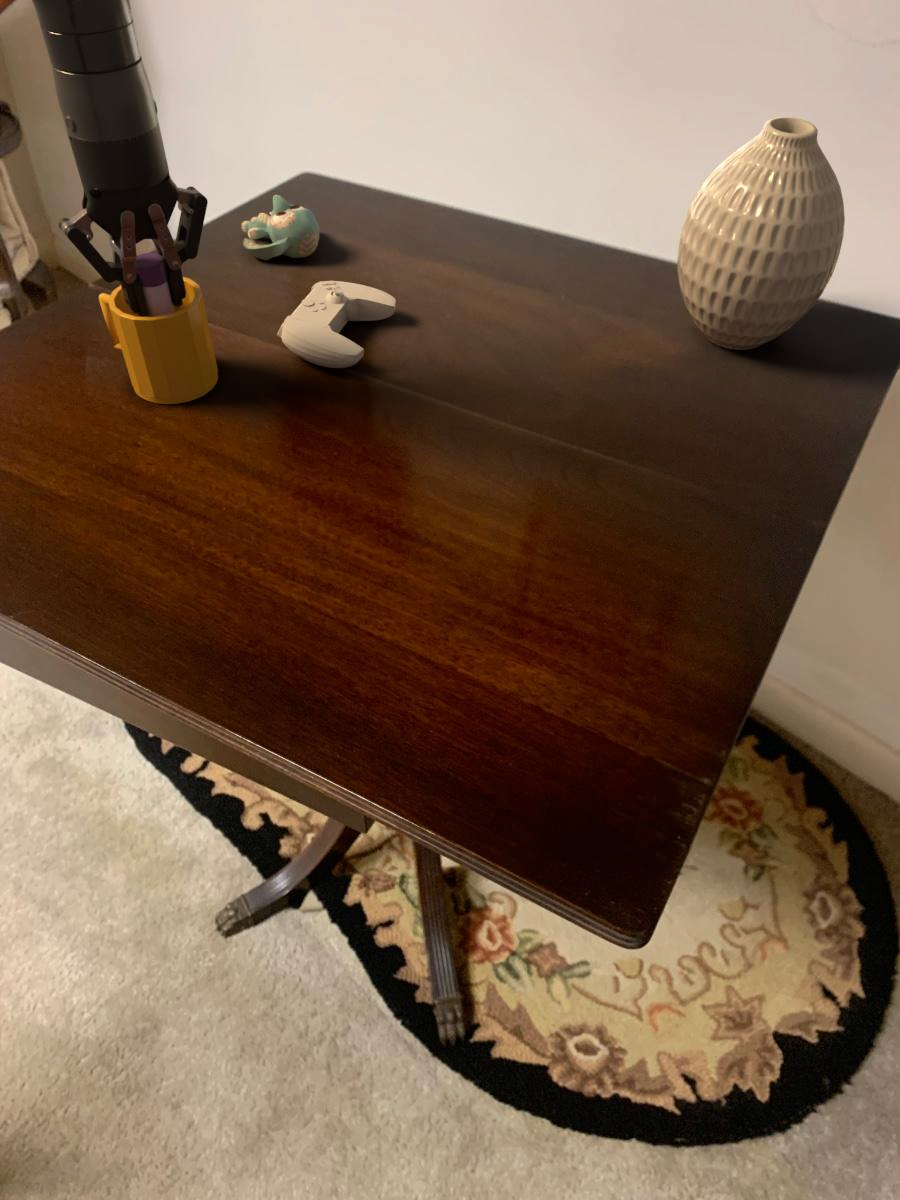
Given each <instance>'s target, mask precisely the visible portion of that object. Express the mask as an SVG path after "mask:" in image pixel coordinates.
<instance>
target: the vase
mask: <svg viewBox="0 0 900 1200" xmlns="http://www.w3.org/2000/svg"><path fill="white" fill-rule="evenodd" d="M818 133H819V131H818V128H817V127H816V125H814V123H812V122H810V121H809V120H808V121H807V120H805V119H801V118H797V117H787V116H781V117H774V118H772V119H769V120H767V121H766V122H765V123H764V125H763V127H762V129H761V131H760V132H759V134H758V135H756V136H755V137H754V138H752V139H750V141H748V142H747V143H745V144H744V145H743V146H741V147H740V148H738V149H737V150H736V151H734V152H733V153H732V154H730V155H729V156H728V157H726V158H725V159H724V160H723V161H722V162H721V163H720V164H719V165H717V167H716V168H715V169H714V170H713V171H712V172H711V173H710V175H709V176H708V177H707V178H706V179H705V181H704V182H703V184H702V185H701V187H700V188H699V190H698V192H696V195H695V196H694V198H693V201H692V202H691V204H690V206H689V209H688V210H687V213H686V216H685V219H684V222H683V225H682V229H681V233H680V237H679V244H678V248H677V262H676V263H677V265H676V269H677V277H678V285H679V291H680V294H681V296H682V300H683V302H684V305H685V307H686V309H687V311H688V313H689V315H690V317H691V320H692V322H693V323H694V324H695V325H696V327H697V328H698V330H699V331H700V332H701V333H702V334H703V336H704V337H705V338H706V339H707V340H708V341H709V342H710V343H712V344H714V345H716V346H718V347H721V348H724V349H728V350H734V351H748V350H753V349H757V348H759V347H761V346H762V345H765V344H767V343H769V342H771V341H773V340H775V339H776V338H778V337H780V336H781V335H783V334H784V333H786V332H787V331H788V330H790V329H791V328H792V327H794V325H796V323H798V322H799V321H801V319H802V318H803V317H804V316H806V315H807V314H808V313H809V311H810V310H811V309H812V308H813V306H814V305H815V304H816V303H817V301H819V299H820V298H821V296H822V295H823V293H824V292H825V289H826V288H827V286H828V284H829V282H830V280H831V278H832V276H833V274H834V271H835V268H836V265H837V263H838V260H839V256H840V254H841V249H842V245H843V240H844V236H845V224H846V223H845V220H846V217H845V203H844V198H843V193H842V188H841V184H840V182H839V180H838V177H837V175H836V173H835V171H834V169H833V168H832V166H831V164H830V162H829V160H828V158H827V156H826V155H825V153H824V152H823V150H822V149H821V146H820V144H819V142H818Z"/></svg>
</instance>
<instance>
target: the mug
mask: <svg viewBox="0 0 900 1200" xmlns="http://www.w3.org/2000/svg"><path fill="white" fill-rule="evenodd" d="M183 280H184V285H185V289H186V297H185V298H184V299H182V302H183V305H181V306H178V307H175V306H174V305H173V306H174V310H175V312H174V313H171V314H169V315H163V316H156V317H146V316H145V317H140V316H139V315H138V313H134V312H133V311H132V310H131V309H130V308H129V306H128V305H127V304H126V301H125V297H124V294H123V291H122V287H121V284H120V285H119V286H118V287H116V288H115V289H113V290H112V292H111V294H108V293H106V292H102V293H100V294H99V295H98V302H99V305H100V307H101V311H102V315H103V318H104V321H105V324H106V328H107V332H108V334H109V339H110V342H111V344H112V347H113V348H114V349H116V350H119V351H121V352H122V355H123V358H124V362H125V366H126V369H127V373H128V375H129V380H130V383H131V386H132V388H133V391H134V392H135V394H136V395H137V396H138V397H140V398H141V399H143V400H145V401H147V402H150V403H154V404H160V405H177V404H184V403H187V402H191V401H194V400H196V399H199V398H202V397H204V396H205V395H207V394H208V393H209V392H211V391H212V390H213V389H214V388H215V386H216V385H217V383H218V380H219V368H218V364H217V359H216V355H215V349H214V344H213V340H212V333H211V329H210V324H209V320H208V315H207V310H206V306H205V301H204V295H203V292H202V289H201V286H200V284H198V283H197V282H196V281H194V280H193V279H191V278H190V277H185V276H183Z"/></svg>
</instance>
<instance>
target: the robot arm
mask: <svg viewBox="0 0 900 1200" xmlns="http://www.w3.org/2000/svg"><path fill="white" fill-rule="evenodd" d="M31 2H32V4H33V6H34V10H35V13H36V16H37V19H38V23H39V27H40V30H41V34H42V37H43V41H44V44H45V48H46V51H47V52H46V53H47V54H48V55H47V56H48V59H49V62H50V66H51V70H52V75H53V80H54V87H55V93H56V97H57V101H58V105H59V109H60V112H61V116H62V119H63V122H64V126H65V129H66V134H67V136H68V140H69V144H70V148H71V150H72V155H73V156H74V161H75V166H76V168H77V171H78V175H79V178H80V181H81V186H82V189H83V196H82V200H81V201H82V202H81V206H82V209H81V210H80V211H79V212H77V213H76V214H75V215H74V216H72V217H71V218H68V217H63V218H61V219H60V220H59V221H58V228H59V230H60V231H61V232H62V233H63V234H64V235H65V237H67V239H68V240H69V241H70V242H71V243H72V245H73V246H74V247H75V248H76V250H77V251H79V253H80V254H81V255H82V256H83V257H84V259H85V260H86V261H87V262H88V263H89V264H90V265H91V267H92V268H93V269H94V270H95V271H96V272H97V273H98V274H99V276H100V277H101V278H102V279H103V281H105V282H106V283H113V282H115V281H117V282H119V284H120V285H121V287H122V291H123V294H124V297H125V301H126V304H127V305H128V306H129V308H130V309H131V310H132V311H133V312H134V313H138V315H139V316H140V317H145V316H148V315H149V314H148V310H147V306H146V302H145V298H144V294H143V291H142V287H141V283H140V281H139V280H138V279H137V278H136V265H135V259H136V257H137V244H138V243H140V242H142V241H144V240H151V241H152V243H153V245H154V247H155V250H156V253H157V254H159V255H161V256H162V257H163V259H164V263H165V268H166V272H167V276H168V279H167V281H168V285H169V289H170V294H171V298H172V302H173V305H174V306H175V307H178V306H181V305H183V302H182V299H184V298H185V297H186V289H185V285H184V280H183V277H184V276H183V272H182V271H183V270H182V266H183V264H184V263H185V262H186V261H188V260H194V259H195V258H197V256H198V253H199V247H200V243H201V238H202V234H203V228H204V223H205V219H206V213H207V208H208V203H209V201H208V198H207V197H206V196H205V195H204V194H202V193H201V192H200V191H199V190H198V189H197V188H196V187H194V186H191V185H190V186H188V187H186V188H182V187H178V186H177V184H176V183H175V182H174V181H173V179H172V178H171V174H170V170H169V164H168V160H167V154H166V150H165V146H164V140H163V137H162V131H161V127H160V122H159V117H158V111H159V110H158V107H157V103H156V100H155V98H154V94H153V90H152V86H151V82H150V79H149V77H148V74H147V71H146V68H145V64H144V62H143V57H142V55H141V48H140V45H139V39H138V35H137V31H136V25H135V21H134V18H133V17H134V16H133V11H132V6H131V1H130V0H31ZM176 205H177V208H178V210H179V211H180V216H179V220H178V226H177V231H176V237H175V240H174V238H173V236H172V233H171V231H170V228H169V222H170V220H171V217H172V215H173V213H174V210H175V207H176ZM93 223H95V224H96V225H97V226H98V227H100V228H101V230H103V231H104V232H106V233H107V234H108V237H109V245H110V248H111V250H112V259H113V261H109V260H108V261H106V259H104V257H103V256H102V255H101V254H100V252H98V250H97V249H96V247H95V246H94V245H93V244H92V243H91V241H93V239H94V232H93V230H92V228H91V226H92V224H93Z"/></svg>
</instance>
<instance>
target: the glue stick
mask: <svg viewBox="0 0 900 1200" xmlns="http://www.w3.org/2000/svg"><path fill="white" fill-rule="evenodd" d="M135 265H136V278H137V279H138V280H139V281H140V283H141V287H142V291H143V294H144V298H145V302H146V306H147V310H148V314H149V315H148V316H146V317H156V316H163V315H169V314H171V313H174V312H175V310H174V306H173V302H172V298H171V294H170V289H169V285H168V281H167V279H168V276H167V272H166V268H165V263H164V259H163V257H162V256H161V255H159V254H158V253H157V252H143V253H140V254H138V255H137V257H136V259H135Z"/></svg>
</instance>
